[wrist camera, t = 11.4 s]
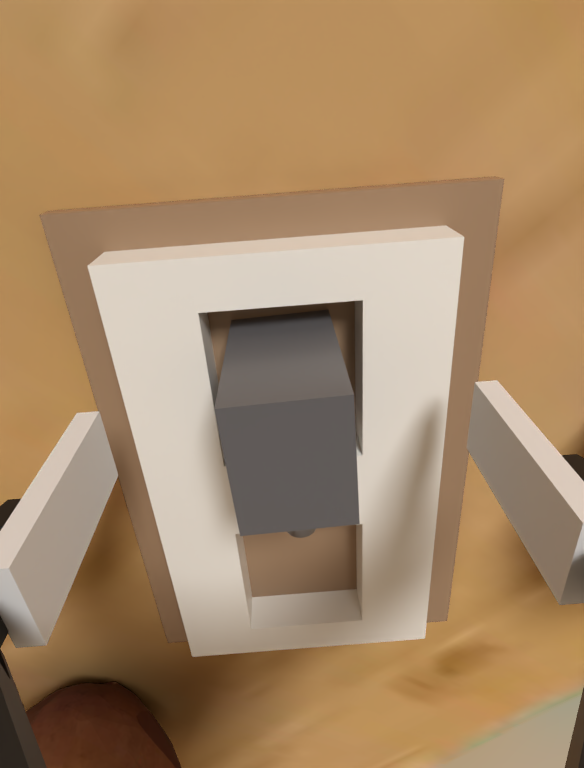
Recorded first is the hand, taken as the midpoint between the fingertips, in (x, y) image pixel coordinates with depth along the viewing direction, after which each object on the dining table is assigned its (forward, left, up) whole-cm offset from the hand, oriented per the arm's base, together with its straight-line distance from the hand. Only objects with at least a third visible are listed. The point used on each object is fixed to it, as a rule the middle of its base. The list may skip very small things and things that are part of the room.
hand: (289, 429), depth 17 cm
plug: (0, 0, -5) cm, 5 cm away
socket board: (0, -5, -6) cm, 8 cm away
